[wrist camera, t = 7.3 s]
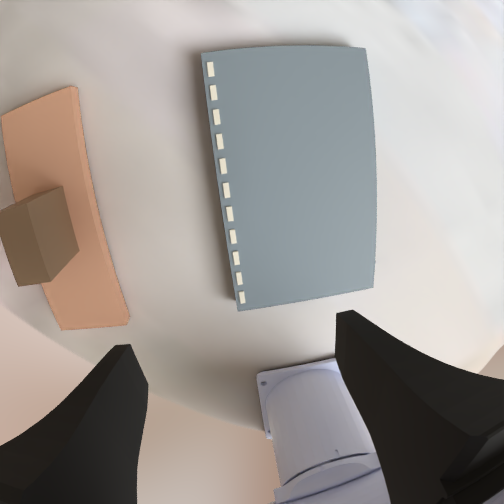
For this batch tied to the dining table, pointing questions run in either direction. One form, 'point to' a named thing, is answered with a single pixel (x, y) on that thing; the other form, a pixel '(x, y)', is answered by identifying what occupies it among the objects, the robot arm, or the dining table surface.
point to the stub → (58, 215)
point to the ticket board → (294, 170)
